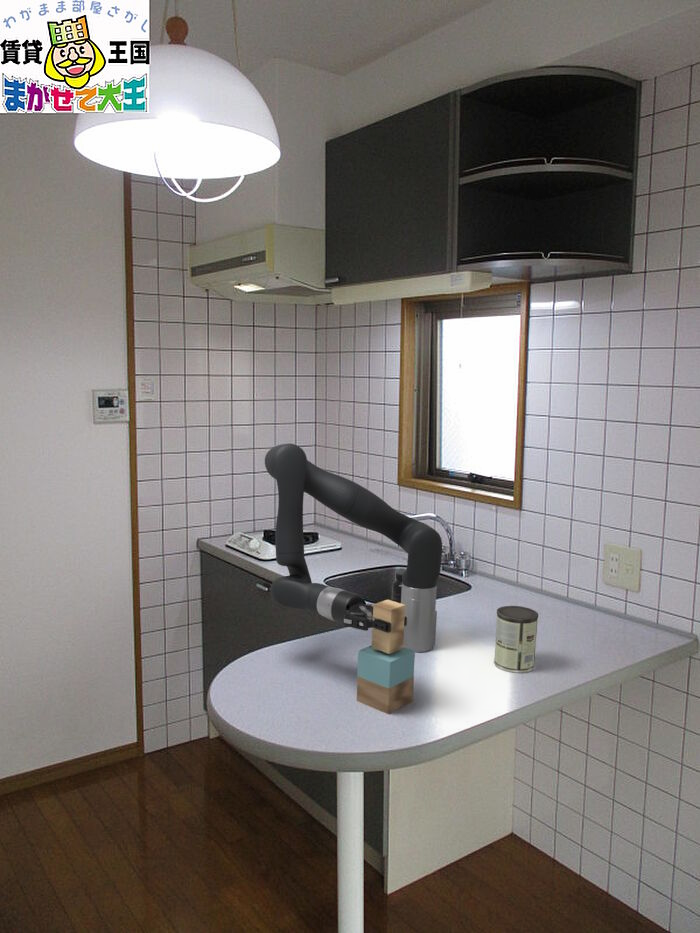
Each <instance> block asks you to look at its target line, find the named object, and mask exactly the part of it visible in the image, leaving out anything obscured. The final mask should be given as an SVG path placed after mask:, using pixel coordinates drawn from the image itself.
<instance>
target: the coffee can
mask: <svg viewBox="0 0 700 933" xmlns="http://www.w3.org/2000/svg"><path fill="white" fill-rule="evenodd" d="M538 618H539V613H538V611H536V610H534V609H532V608H529V607H524V606H521V605H520V606H518V605H505V606H504V605H503V606H500V607H498V608H497V609H496V628H495V644H494V659H493V664H495V665H494V667H496V668H498V669H500V670H501V669H502V671H505V672H509V673H513V674H514V673H515V674H516V673H517V674H525V673H526V674H527V673H530V672H531V671H533V670H534V669H535V658H536V648H537V647H536V645H537V635H538V634H537V631H538Z"/></svg>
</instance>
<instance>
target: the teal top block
mask: <svg viewBox="0 0 700 933" xmlns="http://www.w3.org/2000/svg"><path fill="white" fill-rule="evenodd" d="M357 651H358V653H357V655H358V656H357V673H356V674H357V678H358V677H361V678H363V679H366V680H368V681H371V682H373V683H376V684H379V685H381V686H384V687H386V688H391V687H393V686H395V685H397V684H399V683H401V682H403V681H405V680H408V679H410V678H412V677H414V678H415V676H414V675H415V661H416V660H415V658H416V652H415V651H413V650H411V649H408V648H405V647H403V648H402V649H400V650H397V651H395V652H392V653H390V654H388V653H385V652H382V651H380V650H377V649H374V648H372V644H371V645H369V646H367V647H366V646H365V647H364V648H361V649H358V650H357Z"/></svg>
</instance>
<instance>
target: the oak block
mask: <svg viewBox="0 0 700 933" xmlns="http://www.w3.org/2000/svg"><path fill="white" fill-rule="evenodd" d="M373 605H374V606H373V616H374V617H376V619H381V620H384V621H387V622H390V623H391V632H389V633H387V632H384V631H381V630H378V629H371V631H372V632H371V645H372V648H374V649H377V650H380V651H382V652H385V653H388V654H390V653H392V652H395V651H397V650H400V649H402V648H403V640H404V619H405V605H404V604H401V603H398V602H394V601H392V599H391V600H390V599H385V600H382V601H378V602H377V603H376V602H375V603H373Z"/></svg>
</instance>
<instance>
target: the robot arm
mask: <svg viewBox="0 0 700 933" xmlns="http://www.w3.org/2000/svg"><path fill="white" fill-rule="evenodd" d="M264 467H265V469H266V471H267V473H268V474H269V475H270V477H271V478H273V479H275V480H276V486H277V492H278V493H277V494H278V508H277V515H276V521H275V523H276V524H275V531H274V532H275V534H274V536H275V537H274V540H275V543H274V544H275V560H276V561H275V562H276V563H277V564H278V566H282V567H286V568H287V570H288V573H289V575H284V576H280V577H277V578H275V579H274V581H273V582H272V583H271V585H270V588H269V589H270V590H269V592H270V595H271V598H272V599H273V601H274V603H276V604H278V605H279V606H280V607H285V608H288V609H295V610H301V611H302V610H303V611H309V612H311V613H314V614H317V615H319V616H322V617H324V618H326V619H328V620H330V621H333V622H336V623H339V624H342V625H343V626H344V627H348V628H352V629H356V630H361V631H369V629H370V630H372V629H378V630H381V631H384V632H387V633H389V632H391V623H390V622H387V621H384V620H381V619H376V617H374V616H373V606H374V603H368V602H366V601H365V599H364V597H363V595H361V594H358V593H355V592H352V591H350V590H349V591H348V590H345V589H343V588H338V587H332V586H329V585H325V584H322V583H317V582H313V581H312V578H311V575H310V571H309V568H308V564H307V562H306V558H305V540H304V539H305V538H304V536H305V535H304V494H305V493H306V494H308V495H309V496H311V497H312V498H313V499H315V500H316V501H318V502H319V503H321V504H322V505H323V506H325V507H327V508H328V509H329V510H332V511H333V512H334V513H336V514H338V515H339V516H341V517H342V518H344V519H346V520H348V521H349V522H352V524H355V525H358V526H359V527H361V528H364V529H367V530H370V531H373V532H377V533H379V534H380V535H382V536H384V537H386V539H389V540H390V541H392V542H393V543H395V544H397V545H398V547H400V548H401V549H402V550H404V552H405V553H407V564H406V570H404V571H405V572H404V573H403V575H402V592H401V604H404V605H405V619H404V640H403V647H405V648H408V649H411V650H413V651H415V653H424V652H425V653H426V652H429V651H431V650H433V649H434V646H435V645H436V637H437V636H436V635H437V634H436V632H437V616H438V615H437V614H438V611H437V610H436V609H437V608H436V607H437V606H436V605H437V586H438V579H439V577H440V574H441V568H442V557H443V540H442V537H441V535H440V533H439V532H438V531H437V530H436V529H434V528H433V527H431V526H430V525H428V524H427V523H424V522H421V521H419V520H417V519H415V518H412V517H410V516H408V515H406V514H404V513H401V512H400V511H398V510H396V509H395V508H393V507H392V506H391V505H389V504H388V503H387V502H386V501H385V500H383V498H381V497H379V496H378V495H377V494H375V493H374V492H372V491H370V490H369V489H367V488H365V487H364V486H362V485H360V484H359V483H357V482H355V481H352V480H351V479H348V478H345V477H344V476H341V475H338V474H335V473H333V472H330V471H328V470H325V469H322V468H320V467H319V466H317V465H315V464H314V463H312V462H311V461H309V460H308V458H307V454H306V453H305V451H304V449H303V448H301V447H300V446H299V445H297V444H295V443H284V444H283V443H281V444H277V445H276V446H273V447H272V448H270V449H269V450H268V451H267V452H266V454H265V456H264Z"/></svg>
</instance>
